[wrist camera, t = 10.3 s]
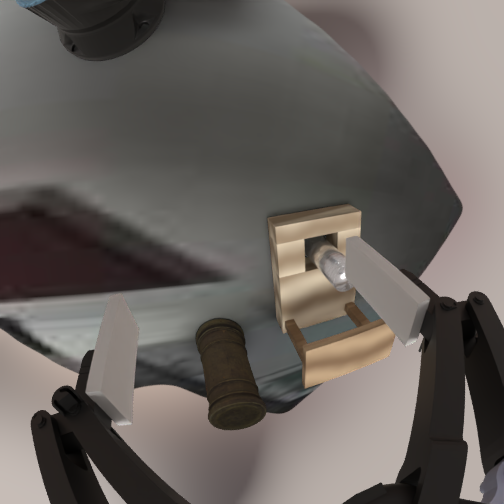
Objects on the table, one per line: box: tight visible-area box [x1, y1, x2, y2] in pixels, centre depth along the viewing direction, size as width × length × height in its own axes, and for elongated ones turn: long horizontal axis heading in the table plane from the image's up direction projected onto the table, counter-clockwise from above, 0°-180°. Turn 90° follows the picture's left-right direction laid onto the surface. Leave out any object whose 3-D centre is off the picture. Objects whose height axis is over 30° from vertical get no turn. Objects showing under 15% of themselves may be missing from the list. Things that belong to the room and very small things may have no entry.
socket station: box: [267, 204, 395, 388], centre depth 41 cm, size 20×15×16 cm
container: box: [196, 319, 266, 430], centre depth 42 cm, size 9×9×18 cm
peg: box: [304, 235, 354, 292], centre depth 41 cm, size 4×4×12 cm
